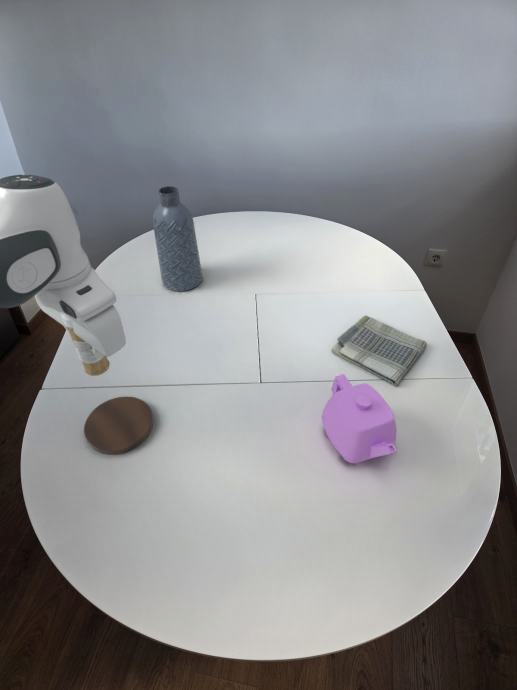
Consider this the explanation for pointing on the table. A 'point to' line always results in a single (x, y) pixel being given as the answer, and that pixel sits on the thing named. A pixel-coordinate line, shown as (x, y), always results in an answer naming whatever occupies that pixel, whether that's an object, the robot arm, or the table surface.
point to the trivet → (118, 425)
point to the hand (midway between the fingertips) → (89, 348)
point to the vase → (176, 242)
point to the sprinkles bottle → (87, 353)
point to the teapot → (359, 421)
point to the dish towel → (379, 349)
